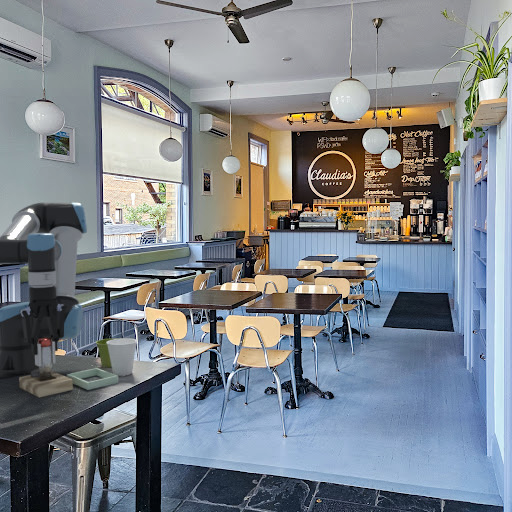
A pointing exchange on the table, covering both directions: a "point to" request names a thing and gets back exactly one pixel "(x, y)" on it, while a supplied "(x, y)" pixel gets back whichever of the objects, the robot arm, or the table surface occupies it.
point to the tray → (107, 380)
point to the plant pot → (104, 352)
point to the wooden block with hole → (45, 384)
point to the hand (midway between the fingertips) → (45, 363)
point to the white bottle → (45, 359)
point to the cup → (122, 355)
